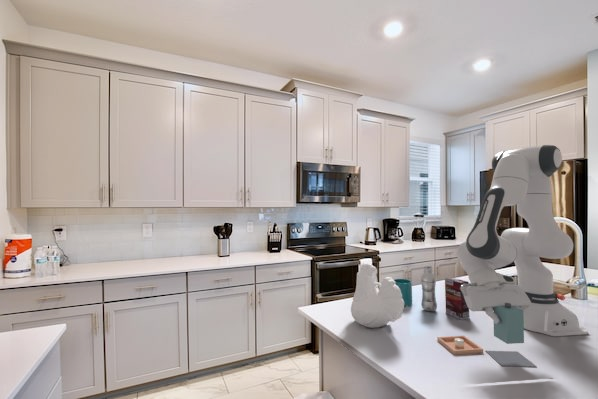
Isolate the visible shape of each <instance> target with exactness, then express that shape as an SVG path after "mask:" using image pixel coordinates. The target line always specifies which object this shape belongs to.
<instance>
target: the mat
mask: <svg viewBox="0 0 598 399" xmlns="http://www.w3.org/2000/svg"><path fill="white" fill-rule="evenodd" d="M485 353H486V354H487V355H489V356H490V357H491V358H492V359H493V360H494V361H495V362H496V363H497V364H498V365H499V366H500V367H508V368H509V367H515V368H517V367H518V368H538V366H537V365H536V364H534V363H533V362H532V361H531V360H529V359H528V358H526V357H525V356H524V355H523V354H522V353H520V352H519V351H515V350H514V351H510V350H485Z"/></svg>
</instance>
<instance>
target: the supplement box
mask: <svg viewBox="0 0 598 399" xmlns="http://www.w3.org/2000/svg"><path fill="white" fill-rule="evenodd" d="M462 284H470V282H469V281H466V280H463V279H460V278H455V277H453V276H452V277H446V278H444V289H445V291H444V294H445V295H444V296H445V298H444V299H445V314H446V315H450V316H452V317H455V318H457V319H460V320H462V321H463V320H466V319H470V309H469V308H468V306H467V304H466V301H465V299H464V295H463V293H462V291H461V289H460V287H461V285H462Z"/></svg>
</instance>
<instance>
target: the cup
mask: <svg viewBox="0 0 598 399" xmlns="http://www.w3.org/2000/svg"><path fill="white" fill-rule="evenodd" d="M393 280H394V281H395V282H396V284H395V285H397V286H398V287H399V288H400V290H401V294H402V299H403V300H404V307H410V306H411V305H413V283H412V282H413V281H412V280H410V279H406V278H395V279H393Z"/></svg>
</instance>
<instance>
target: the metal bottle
mask: <svg viewBox="0 0 598 399" xmlns="http://www.w3.org/2000/svg"><path fill="white" fill-rule="evenodd" d="M433 272H434V271H433V267H432V266H424V267H423V273H422V274H421V276H420V282H421V291H422V294H421V295H422V296H421V308H422V310H424V311H426V312H435V311H436V310H437V309H438V303H437V301H436V300H437V298H436V285H437V284H436V282H437V279H436V276H435V275H434V273H433Z"/></svg>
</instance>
